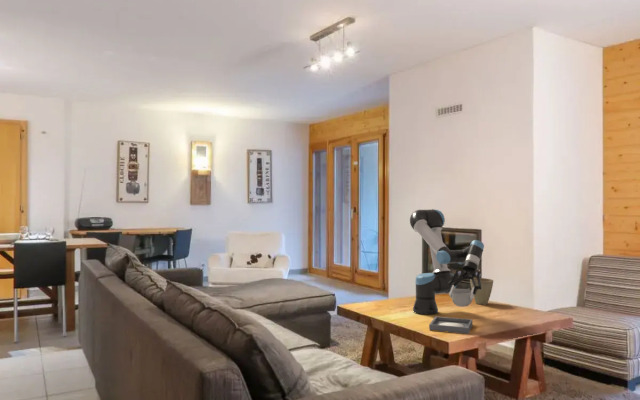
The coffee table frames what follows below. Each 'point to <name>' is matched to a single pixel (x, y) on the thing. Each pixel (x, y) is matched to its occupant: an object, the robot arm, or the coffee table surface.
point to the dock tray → (451, 324)
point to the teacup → (461, 297)
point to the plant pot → (483, 290)
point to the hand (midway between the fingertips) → (460, 297)
